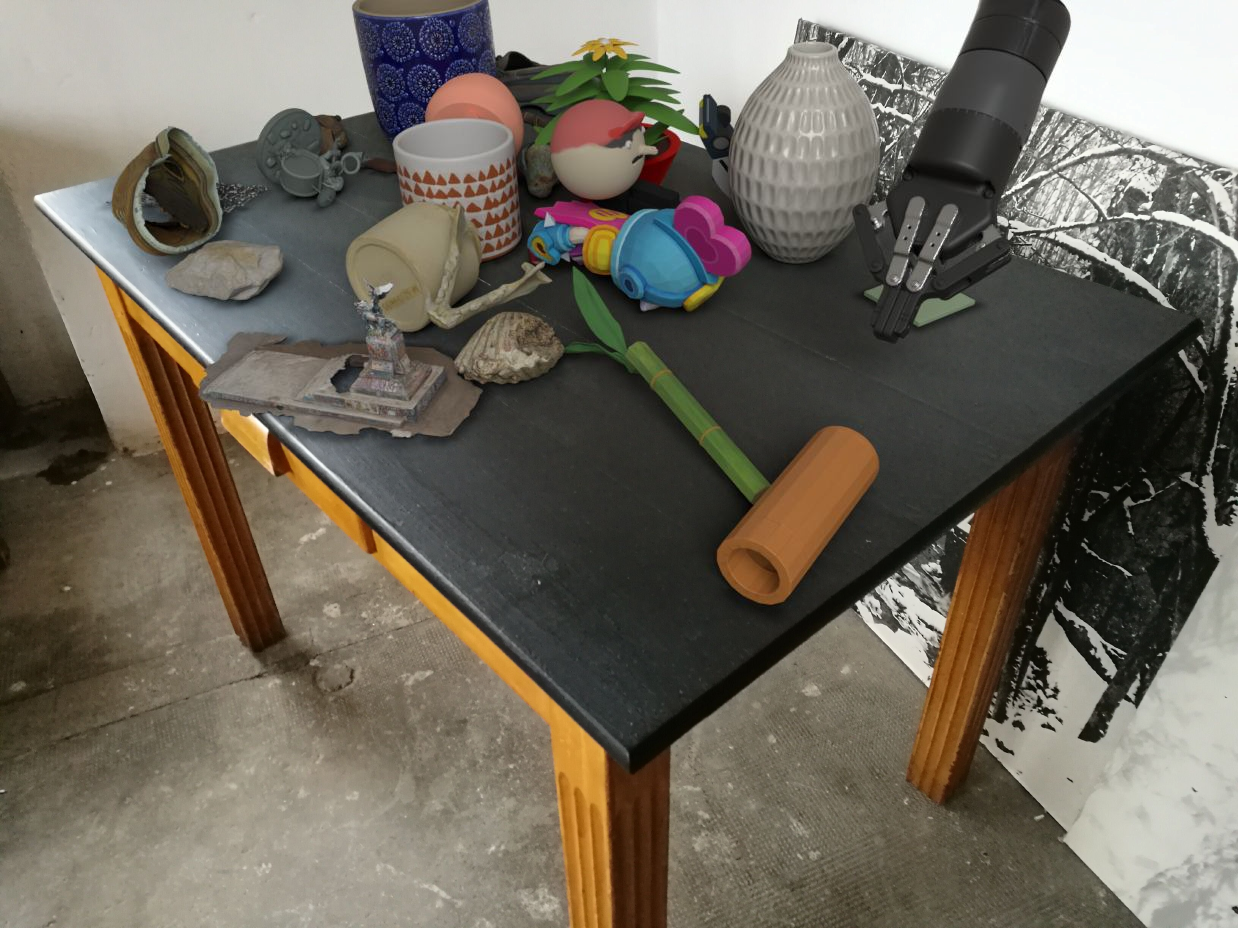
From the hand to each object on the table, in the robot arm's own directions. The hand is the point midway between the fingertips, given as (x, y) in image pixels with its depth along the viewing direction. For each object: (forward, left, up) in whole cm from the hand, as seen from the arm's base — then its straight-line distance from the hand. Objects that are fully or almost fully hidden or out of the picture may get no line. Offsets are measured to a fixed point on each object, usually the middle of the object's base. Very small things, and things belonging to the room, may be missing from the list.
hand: (884, 338), depth 70 cm
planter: (+2, -88, -11) cm, 89 cm away
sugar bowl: (+28, -44, -6) cm, 52 cm away
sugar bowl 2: (+7, -64, -3) cm, 64 cm away
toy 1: (0, -41, -3) cm, 41 cm away
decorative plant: (+11, -14, -11) cm, 21 cm away
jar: (+5, +2, -8) cm, 10 cm away
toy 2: (-8, -35, -8) cm, 36 cm away
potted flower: (-8, -55, -11) cm, 57 cm away
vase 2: (+12, -58, -11) cm, 60 cm away
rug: (+38, -93, -10) cm, 101 cm away
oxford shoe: (+38, -79, -4) cm, 88 cm away
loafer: (-18, -99, -11) cm, 101 cm away
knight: (+5, -49, -8) cm, 49 cm away
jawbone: (+21, -35, -7) cm, 41 cm away
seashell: (+18, -24, -6) cm, 31 cm away
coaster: (-22, -16, -11) cm, 30 cm away
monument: (+35, -36, -11) cm, 52 cm away
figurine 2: (+20, -101, -9) cm, 103 cm away
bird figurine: (-13, -77, -5) cm, 78 cm away
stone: (+34, -65, -8) cm, 74 cm away
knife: (+11, -76, -11) cm, 77 cm away
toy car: (-20, -43, -3) cm, 48 cm away
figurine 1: (+24, -89, -6) cm, 93 cm away
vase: (-19, -32, -11) cm, 39 cm away
